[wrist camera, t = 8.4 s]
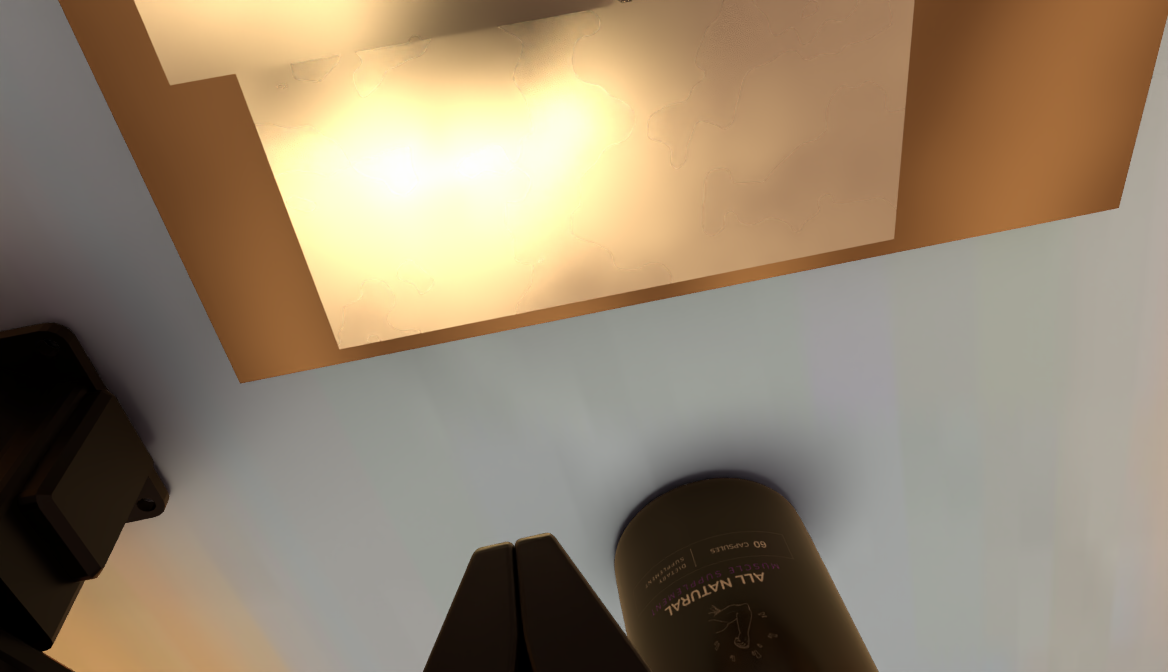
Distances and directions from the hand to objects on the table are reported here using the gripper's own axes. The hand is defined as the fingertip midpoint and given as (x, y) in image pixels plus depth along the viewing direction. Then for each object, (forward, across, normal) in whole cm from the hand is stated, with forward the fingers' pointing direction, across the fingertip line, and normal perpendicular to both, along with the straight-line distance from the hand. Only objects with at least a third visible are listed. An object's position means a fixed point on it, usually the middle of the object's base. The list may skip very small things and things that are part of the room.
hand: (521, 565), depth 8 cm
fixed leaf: (+12, -3, -2) cm, 12 cm away
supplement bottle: (+13, -5, +15) cm, 21 cm away
